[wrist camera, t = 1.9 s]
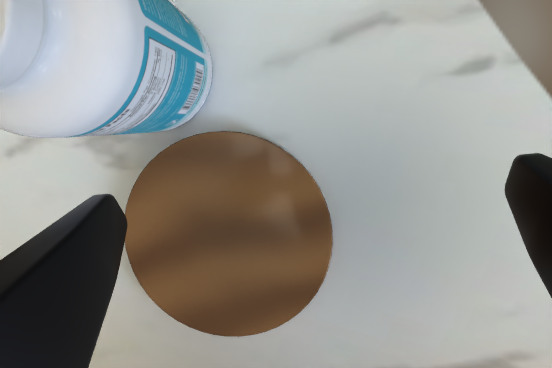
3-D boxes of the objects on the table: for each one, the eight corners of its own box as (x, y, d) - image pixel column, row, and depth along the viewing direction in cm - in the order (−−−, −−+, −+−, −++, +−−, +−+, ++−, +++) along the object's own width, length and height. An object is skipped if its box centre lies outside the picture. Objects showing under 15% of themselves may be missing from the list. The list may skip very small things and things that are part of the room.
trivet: (362, 297, 23) (364, 301, 22) (177, 356, 25) (174, 360, 25) (284, 96, 21) (284, 96, 21) (94, 177, 24) (89, 178, 23)
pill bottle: (88, 20, 22) (-255, -142, 9) (203, -4, 21) (14, -229, 8) (115, 141, 23) (-156, 161, 10) (225, 123, 22) (92, 117, 9)
